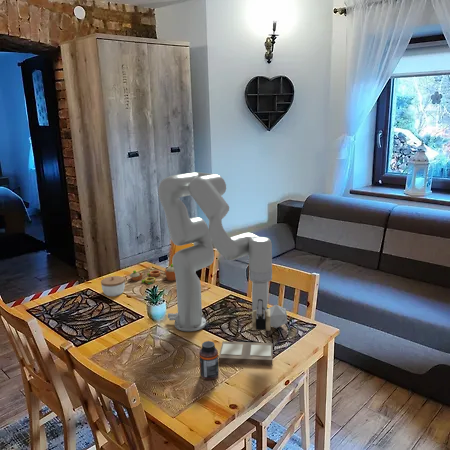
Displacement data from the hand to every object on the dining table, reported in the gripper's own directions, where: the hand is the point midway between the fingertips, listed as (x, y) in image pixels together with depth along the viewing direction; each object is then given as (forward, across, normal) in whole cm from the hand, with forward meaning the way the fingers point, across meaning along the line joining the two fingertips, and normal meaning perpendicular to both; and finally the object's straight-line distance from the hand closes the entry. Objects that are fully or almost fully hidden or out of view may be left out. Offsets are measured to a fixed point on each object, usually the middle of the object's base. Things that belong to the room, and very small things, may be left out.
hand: (261, 324), depth 148 cm
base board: (+12, 0, -5) cm, 13 cm away
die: (+12, -21, +5) cm, 25 cm away
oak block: (+1, 0, 0) cm, 1 cm away
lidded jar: (+11, -48, -71) cm, 87 cm away
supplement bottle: (+12, +13, -16) cm, 24 cm away
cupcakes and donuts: (+12, -67, -56) cm, 88 cm away
